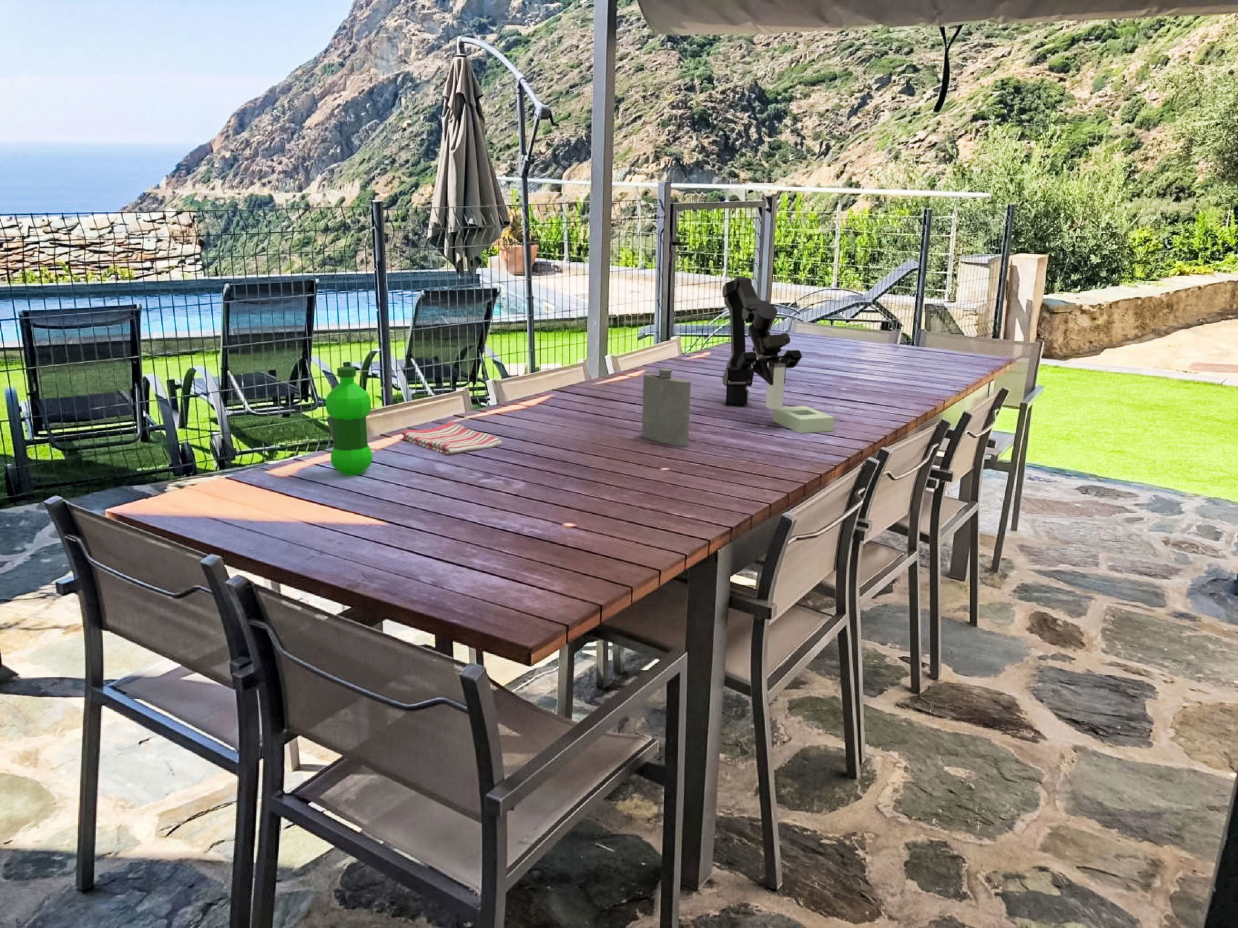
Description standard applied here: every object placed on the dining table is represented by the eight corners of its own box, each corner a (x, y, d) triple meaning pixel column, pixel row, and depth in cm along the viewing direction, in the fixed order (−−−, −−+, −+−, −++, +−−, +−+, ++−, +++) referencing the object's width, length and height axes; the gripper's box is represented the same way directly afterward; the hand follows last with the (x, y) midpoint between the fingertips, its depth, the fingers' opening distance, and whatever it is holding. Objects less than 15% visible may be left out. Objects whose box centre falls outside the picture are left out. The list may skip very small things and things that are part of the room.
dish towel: (452, 431, 270) (452, 419, 269) (503, 447, 254) (503, 434, 253) (400, 441, 258) (399, 428, 257) (449, 458, 242) (449, 445, 241)
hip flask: (690, 445, 257) (693, 371, 252) (681, 447, 255) (683, 373, 249) (647, 434, 268) (649, 364, 263) (637, 436, 265) (639, 365, 260)
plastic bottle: (321, 475, 224) (313, 370, 217) (348, 464, 233) (342, 363, 227) (356, 480, 220) (350, 373, 214) (383, 469, 230) (378, 366, 223)
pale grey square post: (765, 406, 277) (768, 362, 273) (776, 405, 278) (779, 361, 274) (771, 409, 273) (774, 364, 270) (782, 408, 275) (785, 363, 271)
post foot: (772, 421, 287) (773, 408, 286) (804, 418, 290) (805, 405, 289) (800, 433, 272) (801, 419, 271) (833, 430, 276) (834, 417, 275)
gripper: (743, 324, 269) (759, 369, 263) (801, 322, 276) (818, 366, 269) (729, 347, 279) (744, 391, 272) (786, 345, 285) (802, 388, 278)
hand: (778, 384), depth 272 cm, fingers closed on pale grey square post, 3 cm apart
